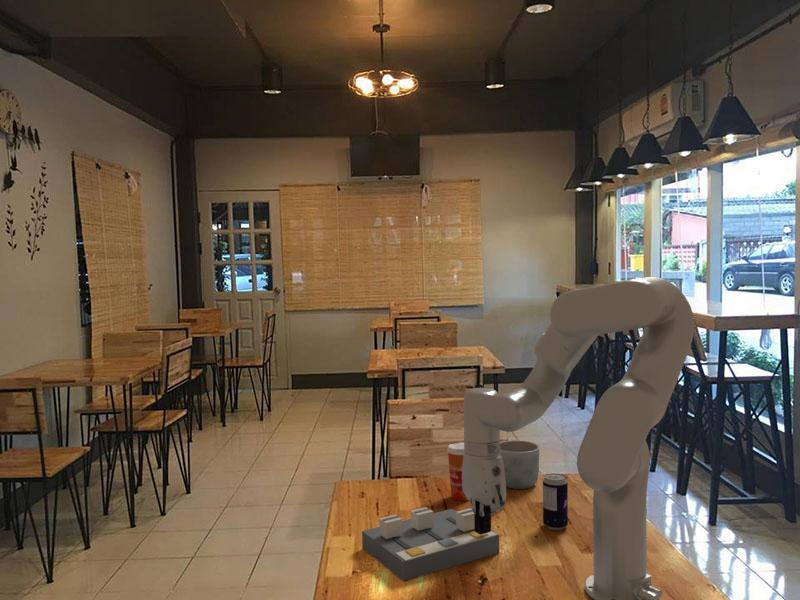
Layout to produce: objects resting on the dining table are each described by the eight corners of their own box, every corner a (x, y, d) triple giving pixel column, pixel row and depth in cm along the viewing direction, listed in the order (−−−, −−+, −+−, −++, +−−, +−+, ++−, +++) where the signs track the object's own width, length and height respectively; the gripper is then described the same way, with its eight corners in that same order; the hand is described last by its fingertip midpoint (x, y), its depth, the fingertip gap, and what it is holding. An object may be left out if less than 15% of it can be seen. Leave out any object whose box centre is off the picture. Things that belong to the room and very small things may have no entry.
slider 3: (479, 527, 148) (478, 511, 148) (464, 531, 146) (463, 515, 146) (470, 523, 151) (470, 507, 150) (456, 527, 149) (455, 510, 148)
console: (499, 552, 145) (499, 532, 145) (403, 581, 133) (403, 559, 133) (451, 525, 161) (451, 506, 161) (362, 548, 149) (362, 528, 149)
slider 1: (402, 534, 145) (402, 518, 145) (386, 539, 143) (385, 522, 143) (395, 530, 148) (395, 513, 148) (379, 534, 146) (379, 517, 146)
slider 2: (433, 526, 149) (433, 510, 149) (418, 530, 147) (417, 514, 147) (426, 522, 152) (426, 506, 152) (411, 526, 150) (410, 509, 150)
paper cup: (442, 495, 182) (441, 444, 181) (467, 490, 185) (466, 440, 184) (456, 504, 174) (455, 451, 174) (482, 499, 178) (481, 447, 177)
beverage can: (568, 532, 156) (568, 481, 155) (543, 530, 157) (542, 480, 156) (567, 522, 161) (566, 473, 160) (543, 521, 162) (542, 472, 162)
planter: (492, 490, 185) (492, 451, 184) (497, 476, 197) (496, 439, 196) (539, 493, 182) (538, 453, 181) (540, 478, 194) (540, 441, 193)
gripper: (518, 452, 138) (519, 540, 139) (474, 436, 151) (475, 517, 152) (489, 459, 134) (490, 548, 135) (447, 442, 147) (448, 524, 148)
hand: (482, 531), depth 143 cm, fingers closed
